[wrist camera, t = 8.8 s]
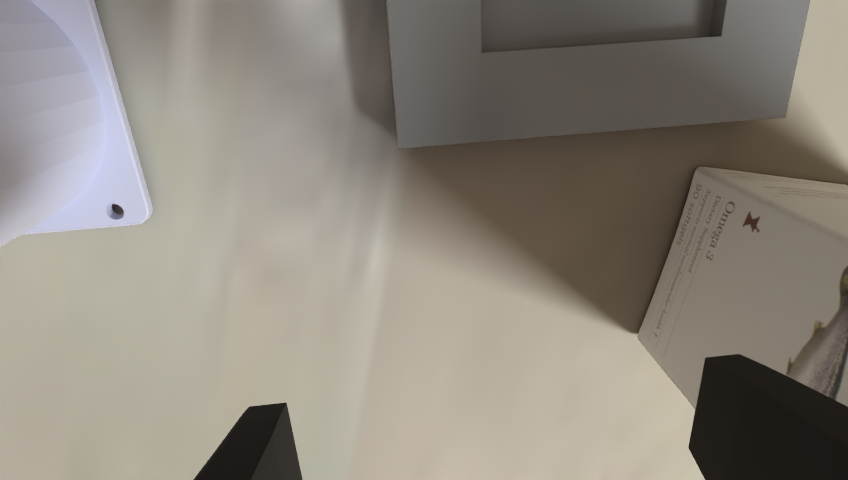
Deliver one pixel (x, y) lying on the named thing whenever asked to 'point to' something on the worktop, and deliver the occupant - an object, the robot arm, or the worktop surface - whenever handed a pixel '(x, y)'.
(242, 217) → the worktop surface
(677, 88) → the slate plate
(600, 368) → the worktop surface
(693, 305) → the supplement box
